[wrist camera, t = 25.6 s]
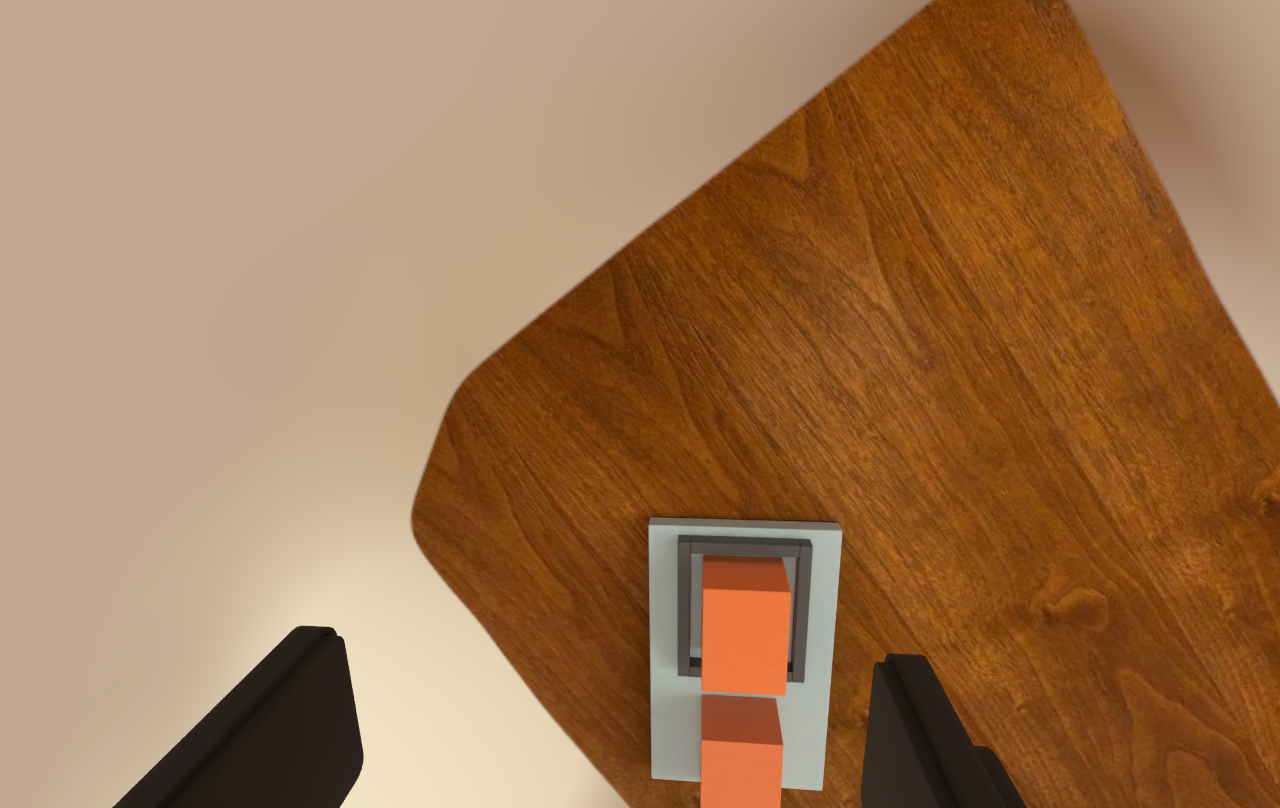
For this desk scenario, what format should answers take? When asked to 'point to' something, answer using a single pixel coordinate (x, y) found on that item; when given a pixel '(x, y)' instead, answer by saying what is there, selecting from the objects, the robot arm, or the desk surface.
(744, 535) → the gray fixture board
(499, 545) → the desk surface
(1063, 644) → the desk surface
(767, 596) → the orange rectangular block
